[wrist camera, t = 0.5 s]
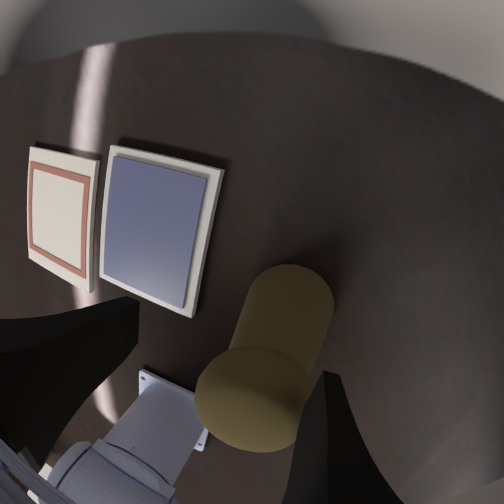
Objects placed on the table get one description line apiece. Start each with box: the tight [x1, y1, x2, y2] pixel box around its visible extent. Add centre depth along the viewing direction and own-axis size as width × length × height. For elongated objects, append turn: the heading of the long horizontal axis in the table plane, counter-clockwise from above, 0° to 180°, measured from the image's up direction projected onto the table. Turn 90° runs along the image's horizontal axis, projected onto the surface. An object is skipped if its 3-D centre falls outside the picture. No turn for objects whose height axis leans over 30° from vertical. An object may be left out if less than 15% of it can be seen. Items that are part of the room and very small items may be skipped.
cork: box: [194, 264, 334, 452], centre depth 16 cm, size 6×6×11 cm
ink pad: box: [100, 145, 225, 318], centre depth 21 cm, size 11×9×1 cm
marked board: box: [27, 146, 100, 294], centre depth 24 cm, size 12×10×1 cm
